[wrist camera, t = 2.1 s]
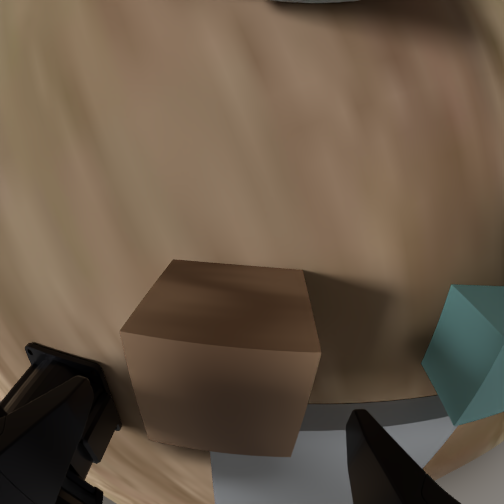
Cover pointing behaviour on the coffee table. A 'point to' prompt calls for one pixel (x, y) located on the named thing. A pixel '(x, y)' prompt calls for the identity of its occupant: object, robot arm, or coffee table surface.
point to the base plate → (327, 454)
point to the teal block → (469, 353)
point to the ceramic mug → (314, 1)
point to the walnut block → (223, 357)
